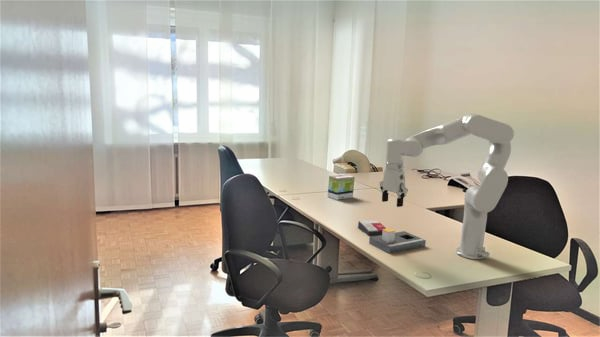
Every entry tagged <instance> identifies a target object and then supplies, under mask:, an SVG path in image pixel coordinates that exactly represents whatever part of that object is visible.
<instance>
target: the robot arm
mask: <svg viewBox="0 0 600 337" xmlns="http://www.w3.org/2000/svg"><path fill="white" fill-rule="evenodd" d="M470 135H473V136H476V137H478V138H481V139H484V140H486V141H488V143H489V147H488V148H489V149H488V151H487V154H486V157H485V159H484V161H483V162H482V164H481V166H480V167H479V169H478V172H477V178H478V181H480V185H476V184H475V185H471V186H470V187H468V188H467V189H466V191H465V194H464V197H463V198H464V199H463V200H464V205H463V206H464V208H463V209H464V210H463V220H462V226H461V228H462V229H461V235H460V243H459V244H460V245H459V247H457V248H456V249H455V252H456V254H457V255H458V256H460V257H463V258H466V259H469V260H484V259H485V258H486V259H488V258H489V257H490V252H489V251H486V247H485V246H484V242H485V235H486V227H487V222H488V220H487V219H488V213H489V212H492V211H493V210H494V209H495V208H496V206H497V205H498V203H499V201H500V199H501V197H502V195H503V193H504V192H505V189H507V186H508V183H509V182H508V181H509V176H508V173H507V171H506V170H505V167H506V166H507V163H508V161H509V159H510V156H511V152H512V144H511V141H512V140H513V139H514V136H515V131H514V129H513V127H512V126H511V125H509V124H507V123H504V122H501V121H498V120H495V119H492V118H489V117H487V116H483V115H481V114H476V113H468V114H465V115H463V116H460V117H458V118H456V119H453V120H451V121H448V122H446V123H444V124H441V125H438V126H436V127H433V128H429V129H426V130H424V131H421V132H419V133H417V134H414V135H411V136H409V137H408V138H406V139H405V140H404V139H401V138H389V139H387V141H386V142H387V143H386V154H385V155H386V158H385V168H384V172H383V177H382V178H383V179H382V181H379V182H378V183H379V188H380V192H381V194H382V195H381V202H383V203H385V202H388V201H389V192H391V193H394V194H396V195H397V199H396V207H397V208H400V207H401V208H402V207H403V206H404V199H405V197H406V196H407V194H408V192H409V189H408V188H407V187H406V175H405V170H404V168H405V166H404V160H405V159H404V158H405V157H406V156H407V157H410V158H415V157H419V156H421V155H422V153H423V152H424V149H426V148H429V147H433V146H440V145H447V144H451V143H452V142H455V141H457V140H461V139H463V138H465V137H467V136H470Z"/></svg>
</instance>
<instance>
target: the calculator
mask: <svg viewBox="0 0 600 337" xmlns="http://www.w3.org/2000/svg"><path fill="white" fill-rule="evenodd" d="M357 228H358V229H359V230H360V231H361V232H362V233H364V234H365V235H367V236H368V237H373V236H379V235H382V231H383V229H387V228H386V227H385V226H384V225H383V224H382V222H379V220H359V221H358V223H357Z"/></svg>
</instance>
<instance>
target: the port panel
mask: <svg viewBox="0 0 600 337" xmlns="http://www.w3.org/2000/svg"><path fill="white" fill-rule="evenodd" d="M368 240H369V241H368V243H369V245H372V246H373V247H376V249H379V250H382V251H384V252H385V253H388V254H389V255H391V254H394V253H395V254H396V253H400V252H405V251H411V250H414V249H419V248H424V247H426V242H427V241H426V239H424V238H421V237H420V236H416V235H414V234H413V233H411V232H410V233H409V232H408V231H405V230H403V231H398V232H395V239H394V242H391V243H386V242H384V241H382V235H379V236H369V239H368Z"/></svg>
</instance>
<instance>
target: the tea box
mask: <svg viewBox="0 0 600 337" xmlns="http://www.w3.org/2000/svg"><path fill="white" fill-rule="evenodd" d="M354 187H355V176H353V175H350V174H343V173H342V174H335V175H333V174H332V175H329V177H328V187H327V198H330V199H332V200H333V199H334V200H336V201H339V200H344V199H352V198H354V189H355V188H354Z"/></svg>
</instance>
